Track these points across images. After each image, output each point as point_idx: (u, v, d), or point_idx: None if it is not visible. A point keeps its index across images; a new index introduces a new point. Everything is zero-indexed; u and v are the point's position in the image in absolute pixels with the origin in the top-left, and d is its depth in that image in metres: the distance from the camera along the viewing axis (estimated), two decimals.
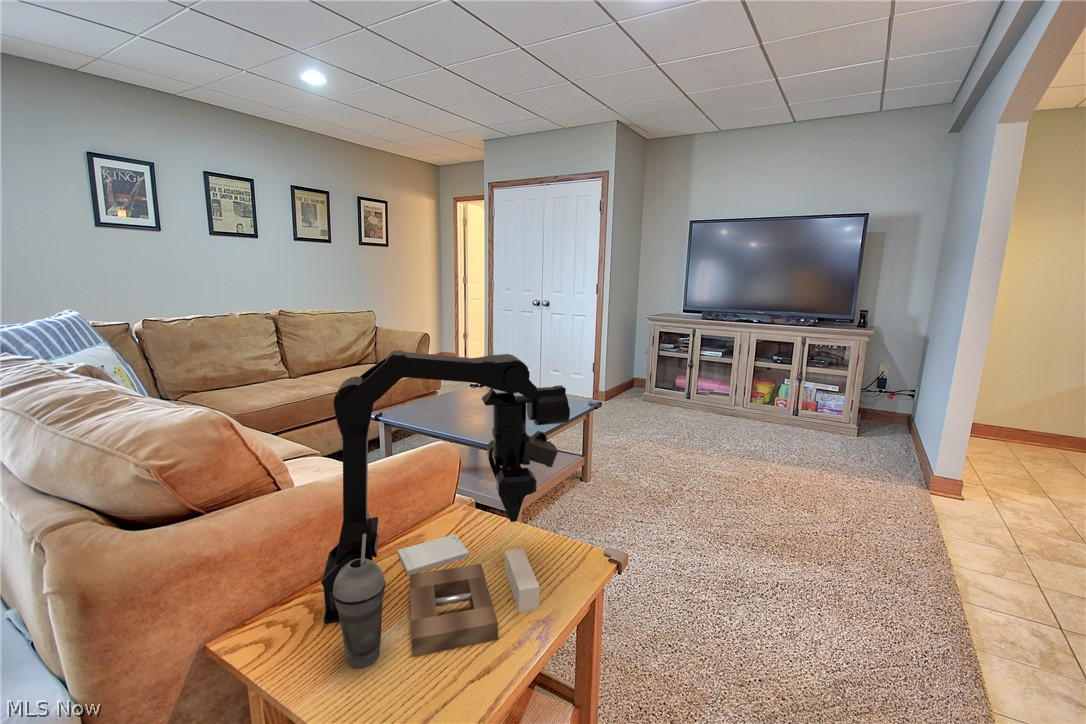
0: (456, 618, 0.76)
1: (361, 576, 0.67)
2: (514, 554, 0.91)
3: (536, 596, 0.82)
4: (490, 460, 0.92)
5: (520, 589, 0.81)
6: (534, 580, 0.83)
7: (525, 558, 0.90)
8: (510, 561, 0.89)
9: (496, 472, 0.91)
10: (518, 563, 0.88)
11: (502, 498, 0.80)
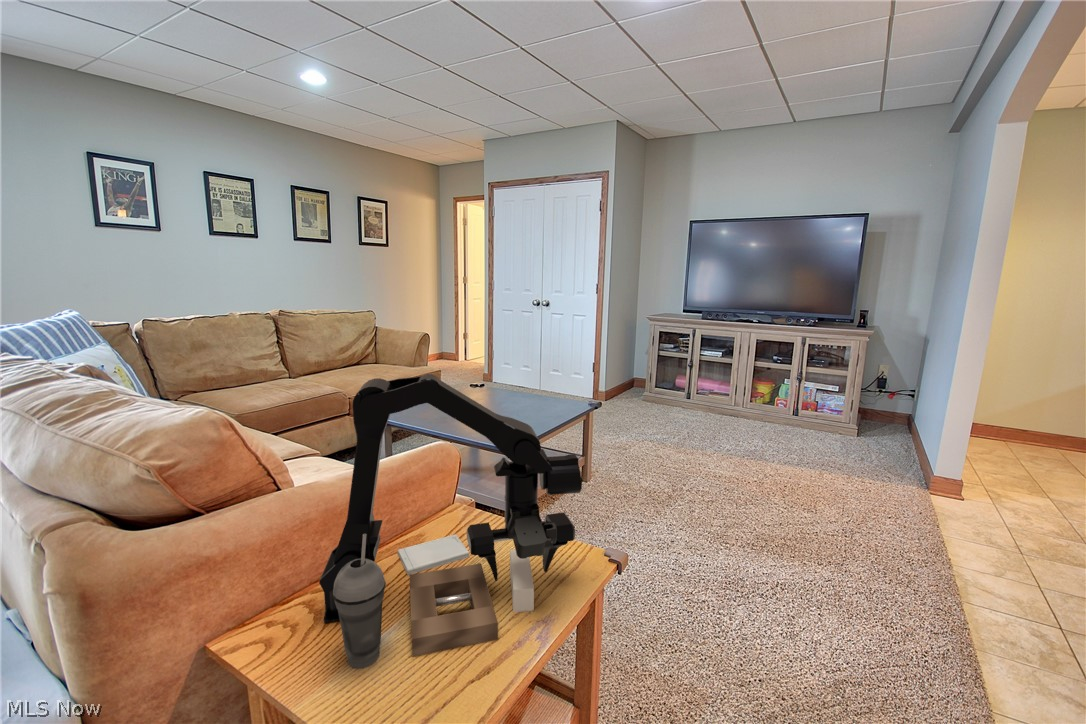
0: (456, 618, 0.76)
1: (361, 576, 0.67)
2: None
3: (530, 597, 0.82)
4: None
5: (514, 589, 0.81)
6: (530, 581, 0.83)
7: (527, 558, 0.90)
8: (512, 560, 0.89)
9: None
10: (519, 563, 0.88)
11: None
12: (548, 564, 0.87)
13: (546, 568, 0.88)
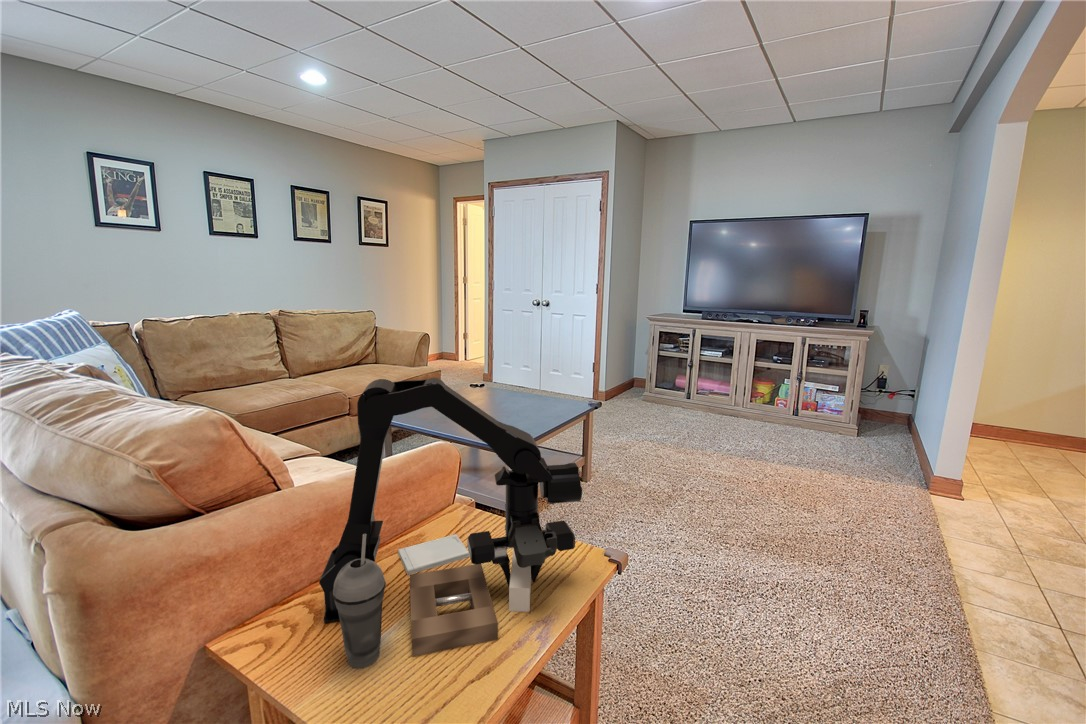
0: (456, 618, 0.76)
1: (361, 576, 0.67)
2: None
3: (526, 597, 0.81)
4: None
5: (510, 587, 0.81)
6: (528, 581, 0.83)
7: None
8: (513, 558, 0.89)
9: None
10: None
11: None
12: (536, 574, 0.87)
13: (534, 578, 0.87)
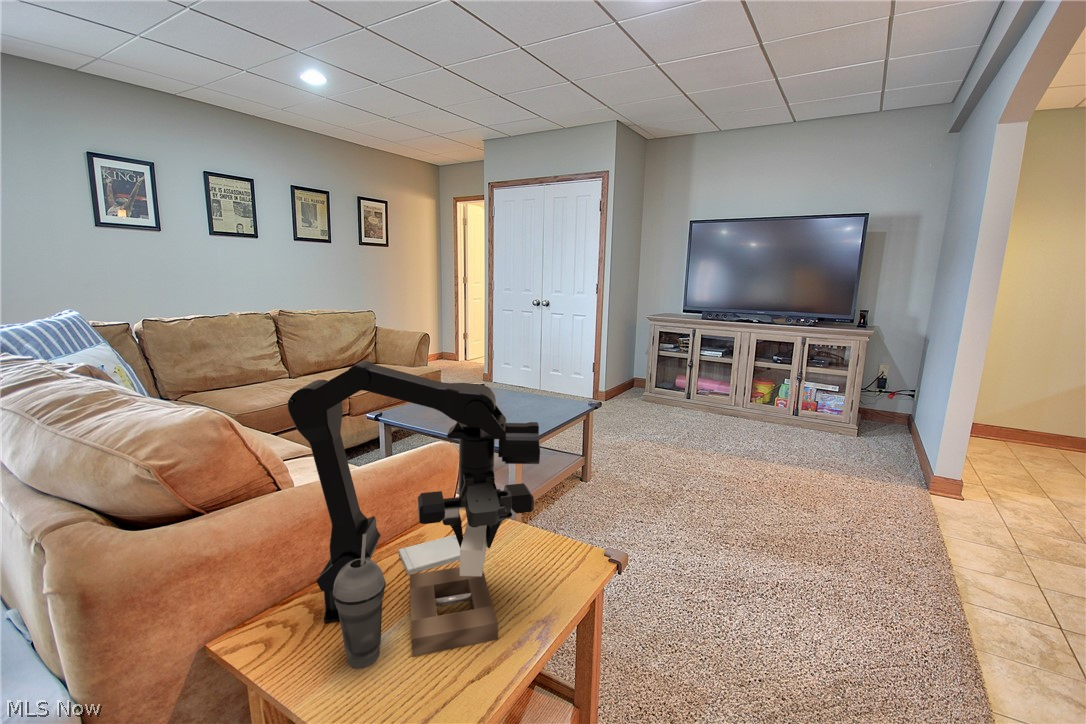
0: (456, 618, 0.76)
1: (361, 576, 0.67)
2: None
3: (479, 560, 0.75)
4: None
5: (461, 549, 0.75)
6: (481, 544, 0.77)
7: None
8: None
9: None
10: None
11: None
12: (491, 539, 0.81)
13: (489, 543, 0.81)
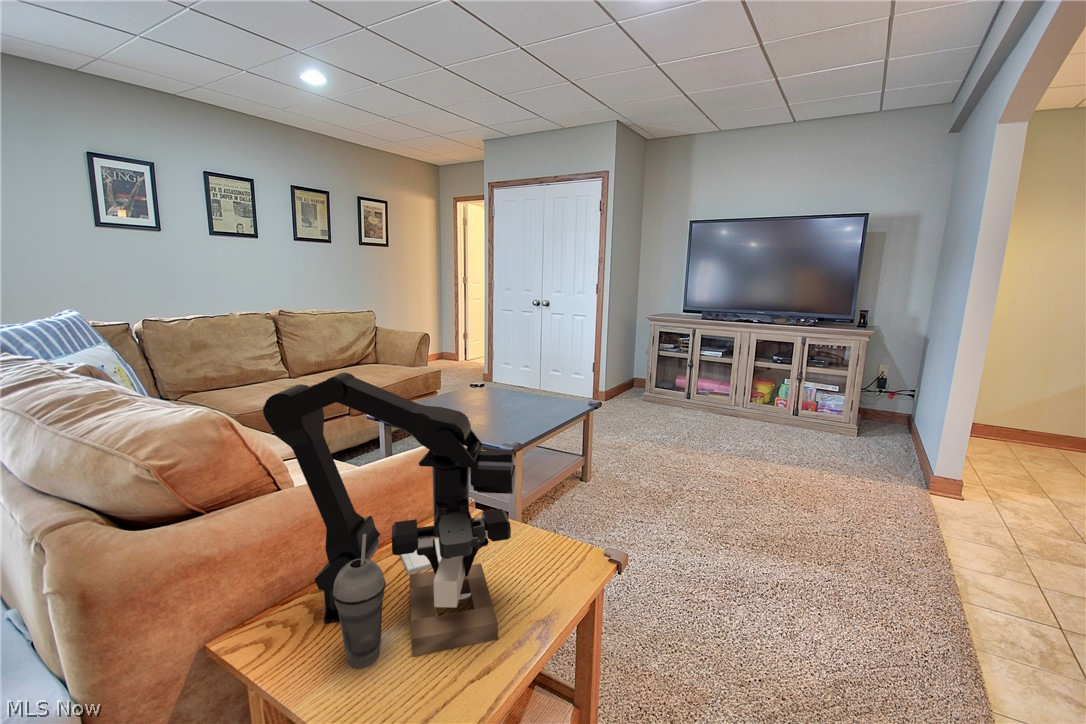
0: (456, 618, 0.76)
1: (361, 576, 0.67)
2: None
3: (453, 591, 0.74)
4: None
5: (435, 580, 0.74)
6: (456, 573, 0.75)
7: None
8: None
9: None
10: None
11: None
12: (468, 567, 0.80)
13: (466, 571, 0.80)
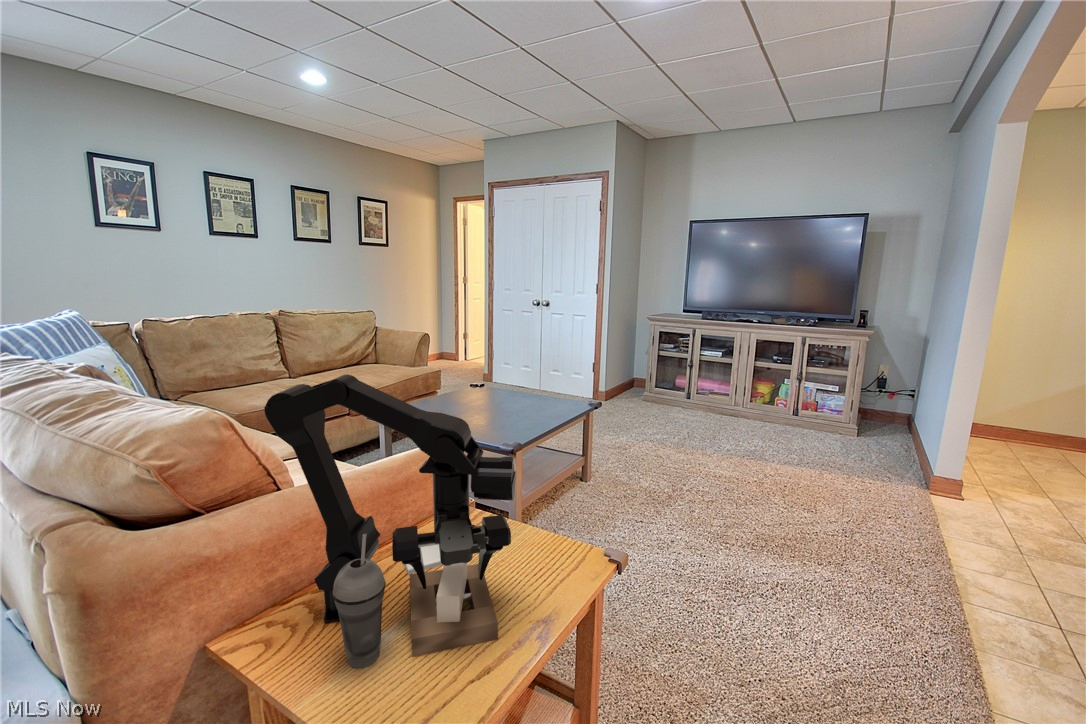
0: None
1: (361, 576, 0.67)
2: None
3: (456, 606, 0.74)
4: None
5: (438, 596, 0.74)
6: (458, 588, 0.76)
7: (463, 563, 0.83)
8: None
9: None
10: (452, 567, 0.81)
11: None
12: (483, 571, 0.81)
13: (481, 575, 0.81)
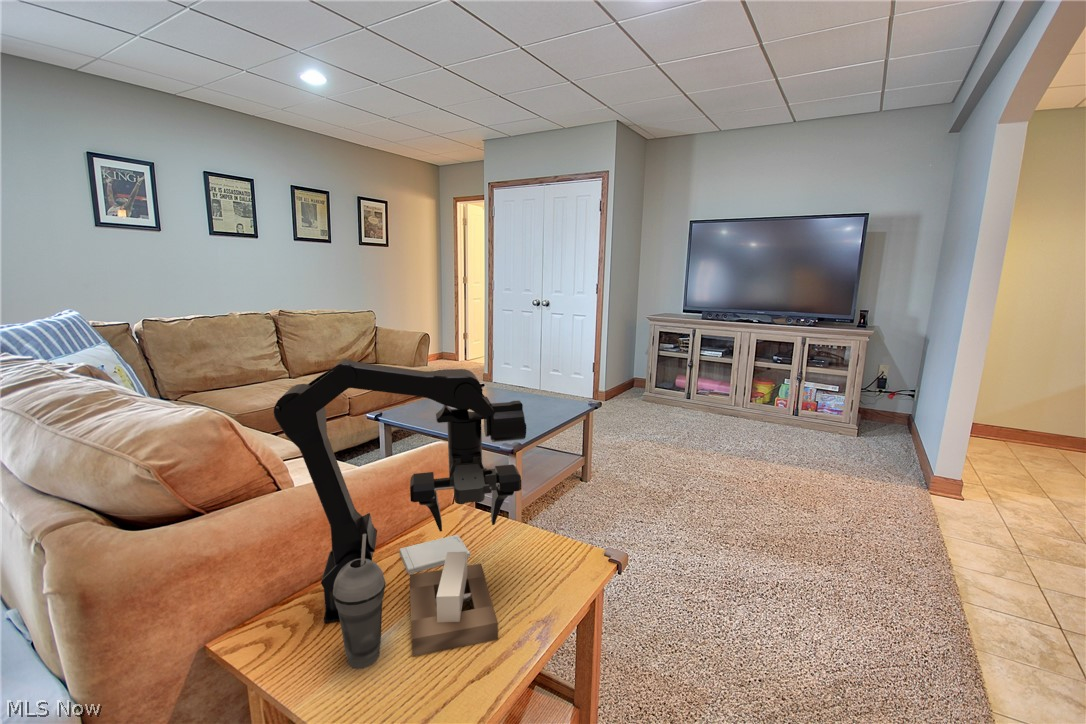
0: None
1: (361, 576, 0.67)
2: (454, 556, 0.84)
3: (456, 606, 0.74)
4: None
5: (438, 596, 0.74)
6: (458, 588, 0.76)
7: (463, 563, 0.83)
8: (445, 564, 0.82)
9: (492, 493, 0.87)
10: (452, 567, 0.81)
11: None
12: (495, 516, 0.85)
13: (493, 520, 0.85)
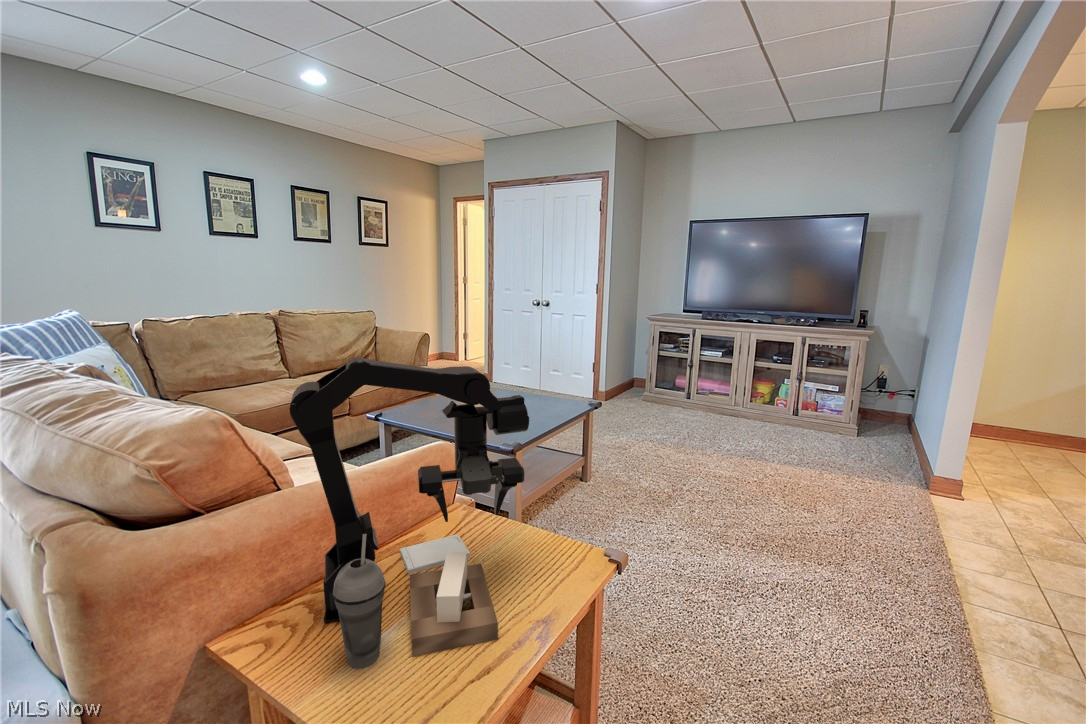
0: None
1: (361, 576, 0.67)
2: (454, 556, 0.84)
3: (456, 606, 0.74)
4: None
5: (438, 596, 0.74)
6: (458, 588, 0.76)
7: (463, 563, 0.83)
8: (445, 564, 0.82)
9: (495, 485, 0.91)
10: (452, 567, 0.81)
11: None
12: (499, 507, 0.89)
13: (497, 511, 0.89)
